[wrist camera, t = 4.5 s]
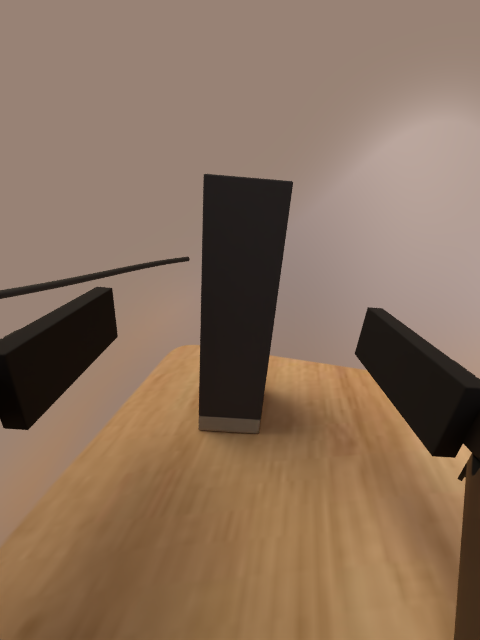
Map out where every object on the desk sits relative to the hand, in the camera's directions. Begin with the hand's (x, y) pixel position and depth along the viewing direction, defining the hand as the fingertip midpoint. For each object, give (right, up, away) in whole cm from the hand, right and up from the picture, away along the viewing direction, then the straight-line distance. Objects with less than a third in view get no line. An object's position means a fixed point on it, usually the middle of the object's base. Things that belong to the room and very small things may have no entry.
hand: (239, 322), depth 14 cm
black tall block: (-1, -6, +6) cm, 9 cm away
